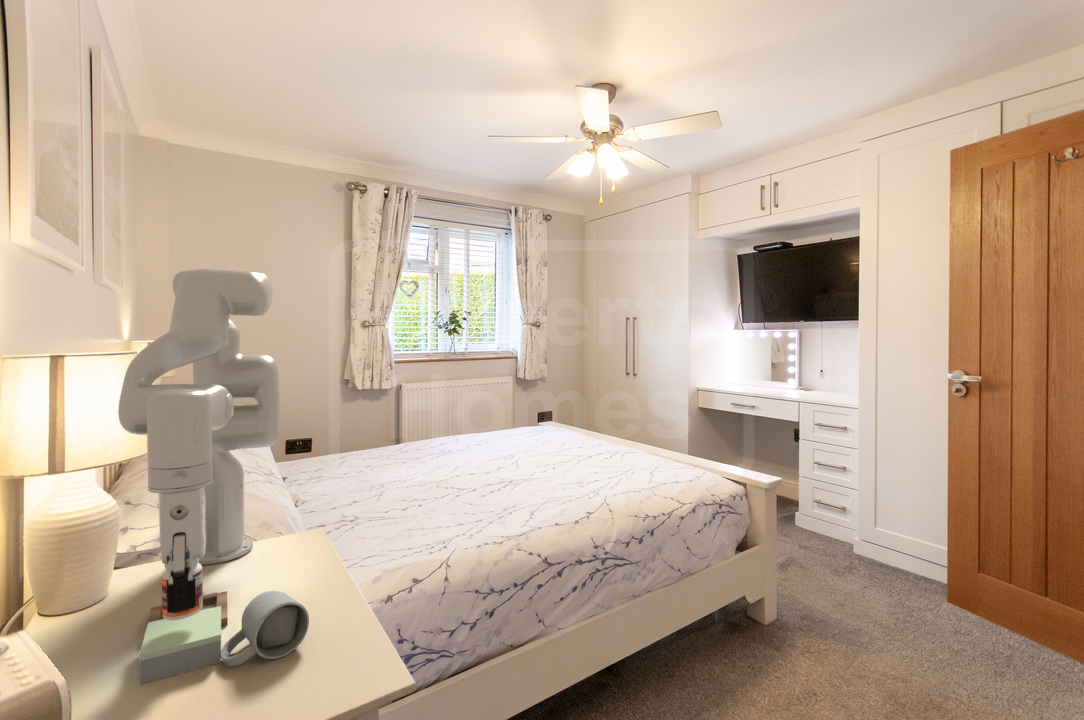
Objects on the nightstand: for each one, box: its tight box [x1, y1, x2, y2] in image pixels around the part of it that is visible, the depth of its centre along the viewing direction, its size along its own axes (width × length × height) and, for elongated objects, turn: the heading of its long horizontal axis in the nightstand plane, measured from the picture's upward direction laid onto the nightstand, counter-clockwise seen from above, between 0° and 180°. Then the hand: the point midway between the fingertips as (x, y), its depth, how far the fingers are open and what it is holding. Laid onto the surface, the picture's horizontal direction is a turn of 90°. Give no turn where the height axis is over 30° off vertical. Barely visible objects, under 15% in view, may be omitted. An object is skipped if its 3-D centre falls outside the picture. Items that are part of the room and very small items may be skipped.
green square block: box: [139, 606, 222, 685], centre depth 73 cm, size 9×9×4 cm
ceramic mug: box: [221, 590, 310, 668], centre depth 75 cm, size 11×8×8 cm
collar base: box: [142, 590, 229, 641], centre depth 82 cm, size 11×11×1 cm
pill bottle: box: [161, 552, 204, 620], centre depth 73 cm, size 5×5×8 cm
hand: (183, 599), depth 73 cm, fingers closed on pill bottle, 4 cm apart
